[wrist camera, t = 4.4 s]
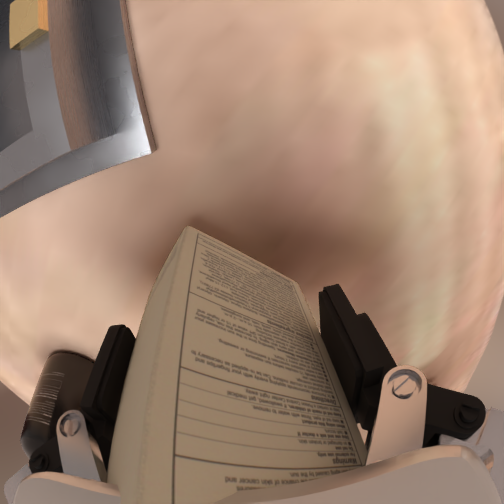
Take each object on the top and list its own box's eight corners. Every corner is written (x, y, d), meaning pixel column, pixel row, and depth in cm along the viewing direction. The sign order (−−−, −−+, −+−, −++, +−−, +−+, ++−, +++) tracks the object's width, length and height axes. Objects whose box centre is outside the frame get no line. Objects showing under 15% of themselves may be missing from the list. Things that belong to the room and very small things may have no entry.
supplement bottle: (55, 383, 19) (27, 489, 9) (41, 339, 16) (-6, 469, 6) (120, 404, 21) (106, 518, 11) (119, 364, 18) (94, 513, 8)
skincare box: (148, 292, 13) (89, 558, 2) (189, 217, 11) (119, 599, 1) (256, 340, 15) (290, 567, 4) (307, 281, 13) (406, 546, 3)
